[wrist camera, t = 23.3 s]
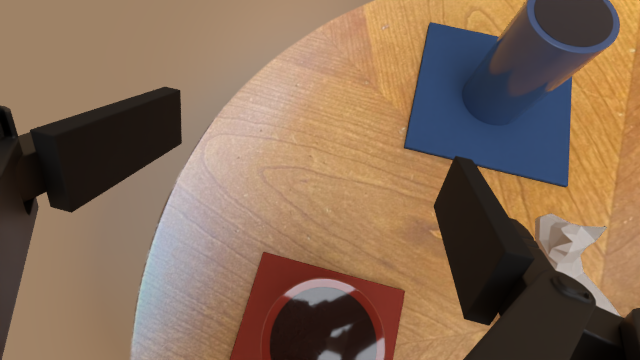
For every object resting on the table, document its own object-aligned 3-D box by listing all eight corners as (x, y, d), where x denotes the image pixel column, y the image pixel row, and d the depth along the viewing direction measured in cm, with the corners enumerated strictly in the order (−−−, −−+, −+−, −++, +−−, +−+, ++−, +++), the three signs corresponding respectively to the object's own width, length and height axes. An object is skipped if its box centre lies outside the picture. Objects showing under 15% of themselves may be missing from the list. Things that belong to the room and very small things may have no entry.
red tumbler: (295, 268, 28) (281, 263, 18) (367, 289, 28) (397, 295, 17) (272, 348, 26) (242, 395, 16) (350, 371, 26) (371, 435, 15)
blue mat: (429, 24, 37) (430, 21, 36) (570, 54, 36) (573, 52, 35) (403, 148, 32) (404, 146, 32) (564, 187, 31) (568, 186, 31)
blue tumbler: (466, 64, 35) (530, -28, 24) (527, 78, 34) (620, -11, 24) (458, 117, 33) (524, 41, 22) (522, 132, 32) (621, 61, 22)
